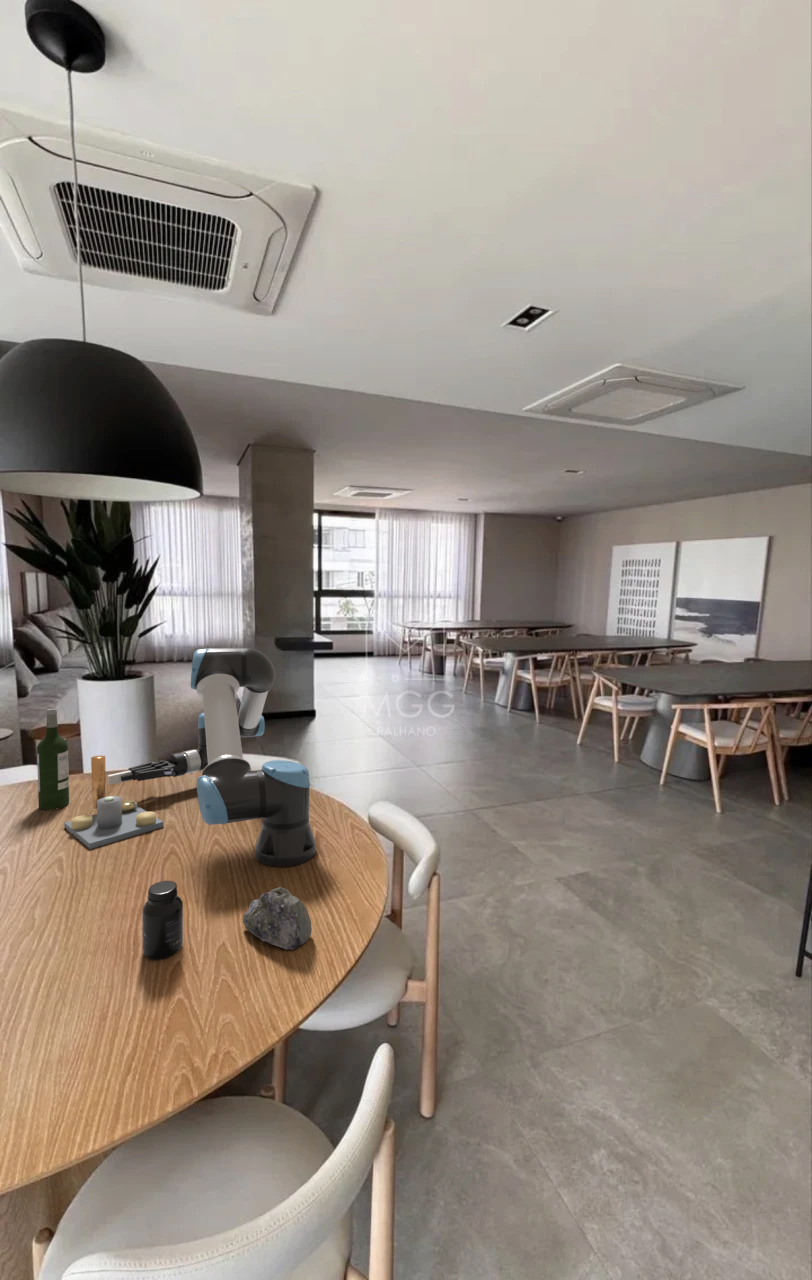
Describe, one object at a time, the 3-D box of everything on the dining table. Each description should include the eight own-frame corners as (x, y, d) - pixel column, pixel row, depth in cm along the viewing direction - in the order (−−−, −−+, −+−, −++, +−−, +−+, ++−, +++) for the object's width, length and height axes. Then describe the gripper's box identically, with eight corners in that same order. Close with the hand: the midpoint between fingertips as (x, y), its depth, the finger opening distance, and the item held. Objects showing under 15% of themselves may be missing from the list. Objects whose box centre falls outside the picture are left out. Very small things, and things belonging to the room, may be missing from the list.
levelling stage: (163, 826, 153) (163, 795, 152) (89, 849, 139) (89, 814, 138) (134, 808, 166) (134, 779, 165) (64, 827, 151) (63, 795, 150)
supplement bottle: (133, 955, 98) (132, 891, 97) (163, 934, 105) (162, 874, 104) (163, 965, 96) (162, 900, 95) (191, 943, 102) (190, 881, 101)
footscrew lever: (141, 806, 163) (140, 755, 162) (132, 812, 158) (132, 760, 157) (97, 805, 163) (96, 754, 162) (88, 811, 158) (87, 759, 157)
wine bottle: (69, 807, 166) (67, 710, 164) (38, 812, 161) (35, 712, 159) (68, 799, 172) (66, 705, 170) (38, 803, 168) (35, 708, 166)
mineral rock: (240, 926, 108) (239, 877, 107) (291, 910, 114) (291, 864, 113) (261, 963, 97) (261, 909, 96) (317, 943, 103) (317, 892, 102)
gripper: (193, 778, 178) (117, 797, 160) (173, 770, 186) (99, 787, 168) (193, 756, 177) (117, 772, 159) (173, 748, 186) (99, 763, 168)
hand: (108, 780), depth 164 cm, fingers closed
